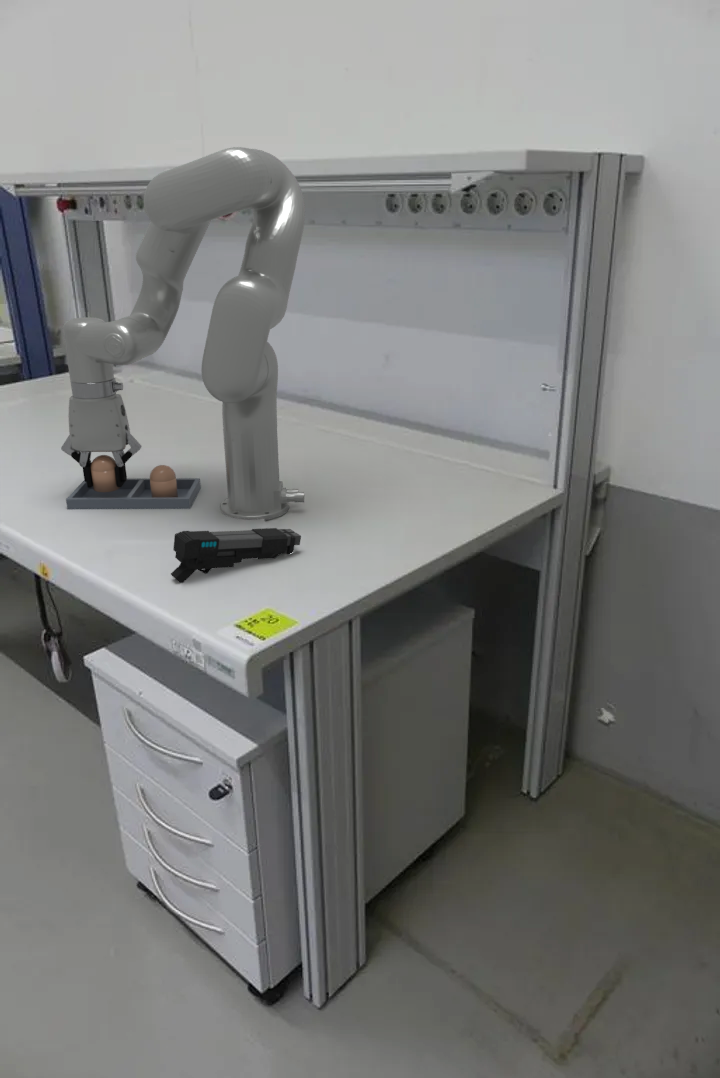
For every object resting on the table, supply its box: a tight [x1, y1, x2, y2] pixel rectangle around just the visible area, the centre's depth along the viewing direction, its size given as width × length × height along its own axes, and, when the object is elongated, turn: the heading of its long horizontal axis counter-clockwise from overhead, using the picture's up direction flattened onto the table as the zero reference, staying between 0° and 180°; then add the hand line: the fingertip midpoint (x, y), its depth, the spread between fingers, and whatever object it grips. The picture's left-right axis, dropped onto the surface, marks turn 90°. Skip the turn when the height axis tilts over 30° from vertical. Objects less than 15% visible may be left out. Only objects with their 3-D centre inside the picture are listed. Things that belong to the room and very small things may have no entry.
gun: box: [170, 527, 302, 584], centre depth 126 cm, size 4×20×10 cm, turn 124°
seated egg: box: [149, 464, 178, 498], centre depth 152 cm, size 5×5×6 cm
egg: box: [91, 454, 120, 492], centre depth 151 cm, size 5×5×6 cm
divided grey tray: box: [65, 477, 202, 510], centre depth 153 cm, size 22×12×2 cm, turn 90°
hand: (106, 484), depth 152 cm, fingers closed on egg, 4 cm apart
